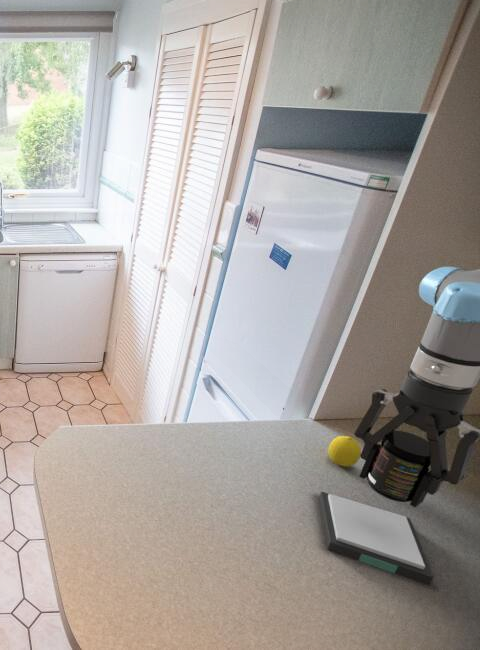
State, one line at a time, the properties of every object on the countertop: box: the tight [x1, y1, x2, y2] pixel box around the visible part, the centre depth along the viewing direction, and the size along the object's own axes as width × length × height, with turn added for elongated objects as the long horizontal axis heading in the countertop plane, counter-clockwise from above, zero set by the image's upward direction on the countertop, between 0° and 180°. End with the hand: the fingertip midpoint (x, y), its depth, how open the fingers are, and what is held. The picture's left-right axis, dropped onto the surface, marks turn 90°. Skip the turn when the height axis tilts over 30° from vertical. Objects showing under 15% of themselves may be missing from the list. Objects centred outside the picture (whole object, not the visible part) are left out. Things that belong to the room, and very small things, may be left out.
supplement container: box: [366, 429, 431, 503], centre depth 79 cm, size 7×7×10 cm
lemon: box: [327, 435, 362, 467], centre depth 102 cm, size 6×6×8 cm
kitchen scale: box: [317, 491, 434, 586], centre depth 85 cm, size 14×14×3 cm
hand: (389, 488), depth 81 cm, fingers closed on supplement container, 7 cm apart
